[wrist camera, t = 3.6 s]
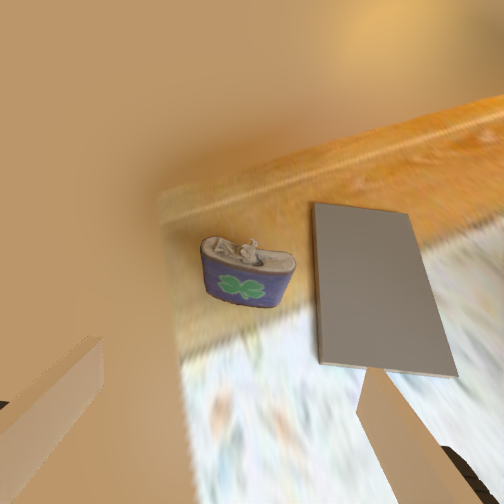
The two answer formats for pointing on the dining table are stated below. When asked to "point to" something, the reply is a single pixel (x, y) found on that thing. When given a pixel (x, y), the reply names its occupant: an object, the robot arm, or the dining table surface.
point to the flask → (245, 272)
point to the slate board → (375, 294)
